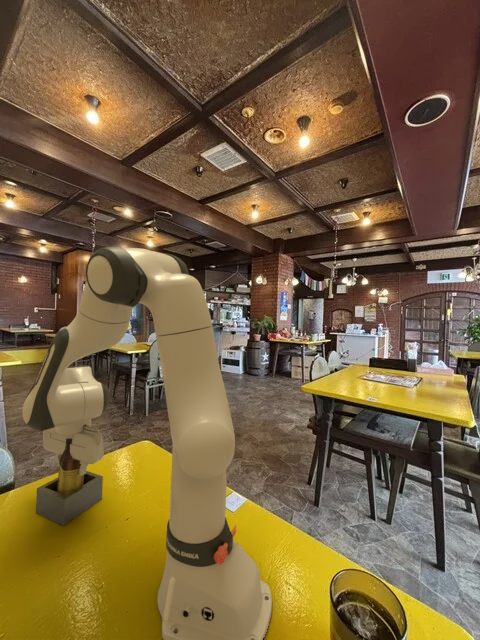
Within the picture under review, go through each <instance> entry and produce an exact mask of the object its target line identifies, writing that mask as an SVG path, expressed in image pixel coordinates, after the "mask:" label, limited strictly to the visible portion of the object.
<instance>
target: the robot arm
mask: <svg viewBox="0 0 480 640" xmlns="http://www.w3.org/2000/svg"><path fill="white" fill-rule="evenodd" d="M85 278H86V283H85V286H84V288H83V292H82V293H81V297H80V301H79V306H78V310H77V313H76V315H75V317H74V318H73V320H72V321H71V322H70V323H69V324H68V325H66V327H65V328H63V329H61V330H59V331H57V332H56V334H55V335H54V337H53V338H52V341H51V342H50V344H49V347H48V349H47V351H46V354H45V356H44V359H43V361H42V363H41V366H40V368H39V371H38V373H37V376H36V378H35V381H34V382H33V385H32V387H31V388H30V390H29V392H28V394H27V395H26V396H25V400H24V403H23V405H22V419H23V423H24V425H25V426H27V427H29V428H30V429H33V430H34V431H36V432H38V433H39V432H42V446H43V448H44V450H46V451H48V452H52V453H54V454H55V459H56V460H57V463H58V464H57V468H58V469H59V461H60V458H61V456H62V454H63V452H64V450H65V446H66V439H70V438H71V439H73V440H72V444H70V454H71V456H72V458H73V459H76V460H79V461H80V464H81V466H80V468H78V469H77V474H78V475H81V476H82V475H84V474H85V473H86V471H87V468H88V466H89V464H90V465H93V464H95V463H98V462H99V461H101V460H102V459H103V458H104V455H105V454H104V450H105V449H104V438H103V435H102V432H100V430H99V428H98V427H95V426H92V419H96V418H98V417H101V416H103V414H104V413H105V412H106V410H107V409H108V407H109V405H110V389H109V388H108V387H107V386H106V385H105V384H104V383H102V382H100V381H98V380H97V379H95V377H94V375H93V371H92V367H91V366H89V365H85V364H83V365H72V364H73V363H74V362H76V361H78V360H80V359H82V358H84V357H87V356H90V355H92V354H95V353H100V352H102V351H105V350H108V349H111V348H112V347H114V346H116V345H117V344H119V343H120V342H121V341H122V340H123V338H124V337H125V335H126V333H127V331H128V329H129V325H130V321H131V318H132V313H133V308H135V307H136V306H137V305H138V304H141V305H144V307H147V309H148V310H149V312H150V313H151V316H152V320H153V327H154V332H155V333H154V335H155V338H156V343H157V349H158V356H159V361H160V366H161V372H162V378H163V386H164V392H165V400H166V408H167V416H168V420H169V421H168V422H169V427H170V428H169V429H170V435H171V436H170V437H171V440H172V441H171V442H172V455H171V473H170V474H171V476H170V477H171V478H170V501H169V519H168V521H167V525H166V537H165V538H166V539H165V546H166V547H165V548H166V550H167V552H166V559H165V565H164V571H163V576H162V578H161V582H160V585H159V588H158V591H157V598H156V599H157V600H156V601H157V602H156V603H157V608H158V611H159V614H160V616H161V621H162V622H161V637H162V639H163V640H263V638H264V636H265V634H266V635H267V633H268V630H269V627H268V626H270V623H271V618H272V612H273V611H272V610H273V599H272V591H271V588H270V586H269V584H268V583H266V582H265V581H263V580H261V577H260V576H261V574H260V569H259V568H258V565H257V563H256V562H255V560H254V559H252V558H251V556H250V555H248V553H247V552H245V549H244V547H243V546H241V545H239V544H238V543H237V542H236V541H235V540H234V537H235V535H236V533H237V532H236V531H237V524H235V525H234V527H233V528H232V530H230V529H231V528H230V526H229V523H228V519H227V517H226V511H227V510H226V507H227V487H228V486H227V485H228V484H227V483H228V482H227V472H226V469H228V468H229V466H230V465H231V463H232V461H233V458H234V456H235V450H236V436H235V429H234V423H233V420H232V414H231V409H230V406H229V401H228V396H227V391H226V387H225V383H224V379H223V375H222V371H221V367H220V362H219V356H218V350H217V345H216V344H217V343H216V340H215V333H214V327H213V322H212V317H211V313H210V309H209V305H208V303H207V299H206V296H205V293H204V290H203V288H202V285H201V284H200V282H199V280H198V279H197V278H196V277H195V276H192V275H190V274H189V269H188V267H187V265H186V264H185V262H184V261H183V260H182V259H181V258H180V257H177V256H176V255H173V254H170V253H165V252H163V253H162V252H158V251H154V250H149V249H147V248H141V247H139V248H138V247H122V246H118V245H117V246H116V245H115V246H106V247H105V246H104V247H101V248H98V249H96V250H95V251H93V253H92V254H91V255H90V257H89V258H88V260H87V263H86V267H85ZM269 622H270V623H269ZM267 629H268V630H267ZM266 632H267V633H266ZM265 637H266V636H265ZM264 639H265V638H264Z"/></svg>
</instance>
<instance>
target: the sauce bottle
mask: <svg viewBox="0 0 480 640" xmlns="http://www.w3.org/2000/svg"><path fill="white" fill-rule="evenodd" d="M72 440H73V439H71V438H70V439H66V446H65V450H64V452H63V454H62V456H61V458H60V461H59V468H58V475H57V476H58V477H57V478H58V489H57V492H58V493H60V494H63V495H65V496H66V495H68V494H70V493H71V492H73V491H75V490H76V489H78V488H80V487H81V486H83V478H84V475H82V476H81V475H78V474H77V469H78V468H80V466H81V464H80V461H79V460H76V459H73V458H72V456H71V454H70V444H72Z"/></svg>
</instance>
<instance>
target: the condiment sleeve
mask: <svg viewBox="0 0 480 640" xmlns="http://www.w3.org/2000/svg"><path fill="white" fill-rule="evenodd" d="M103 482H104V476H103V475H101V474H97V473H95V472H91V471H89V470H86V473H85V474H84V478H83V486H81V487H80V488H78V489H76V490H75V491H73V492H71V493H70V494H68V495H66V496H65V495H63V494H60V493H58V492H57V489H58V477H56V478H54V479H52V480H50V481H48V482H46V483H44V484H42V485H40V486H38V487H36V501H35V514H37V515H38V516H41V517H42V518H45V519H48V520H49V521H50V522H51V521H52V522H54V523H56V524H58V525H60V526H62V527H65V526H66V525H67V524H68V523H70V522H71V521H73V520H74V519H76V518H77V517H78V516H80V515H82V514H83V513H84V512H86V511H87V510H88V509H90V508H92V507H93V506H94V505H95V504H97V503H98V502H100V501H102V500H103V486H104V485H103Z"/></svg>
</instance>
